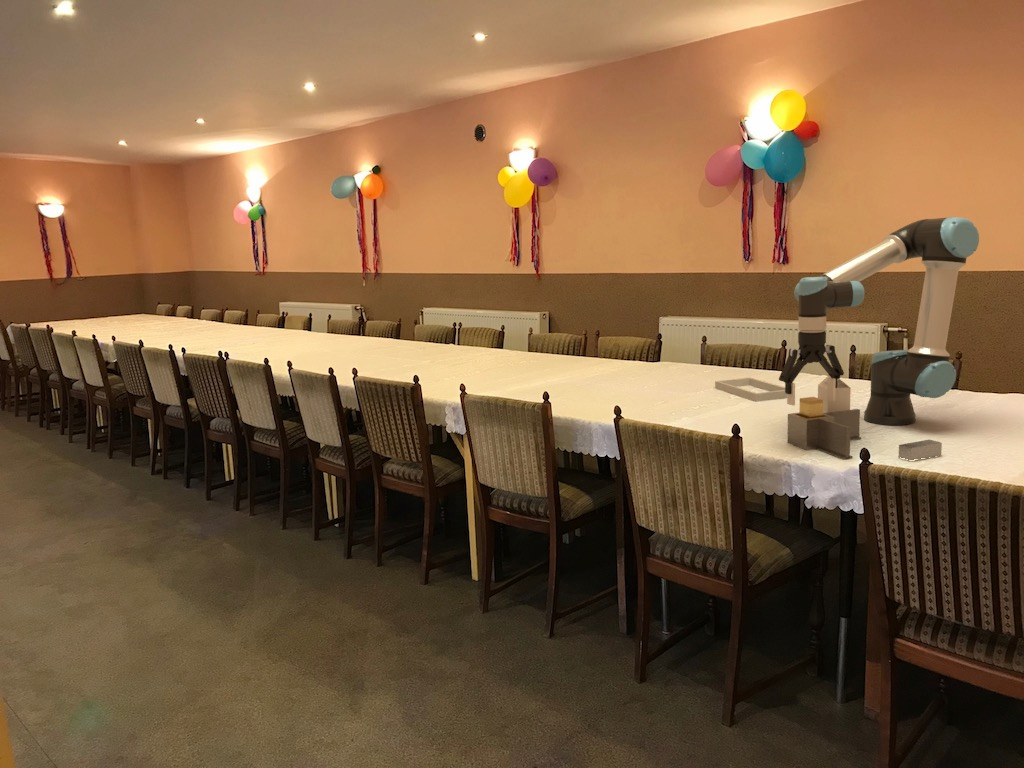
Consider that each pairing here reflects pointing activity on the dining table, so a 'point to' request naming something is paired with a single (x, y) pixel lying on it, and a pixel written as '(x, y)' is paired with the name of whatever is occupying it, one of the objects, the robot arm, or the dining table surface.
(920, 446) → the bar
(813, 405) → the tall golden block
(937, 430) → the dining table surface
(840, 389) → the milk carton
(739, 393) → the parts tray frame
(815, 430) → the brown box with panels
